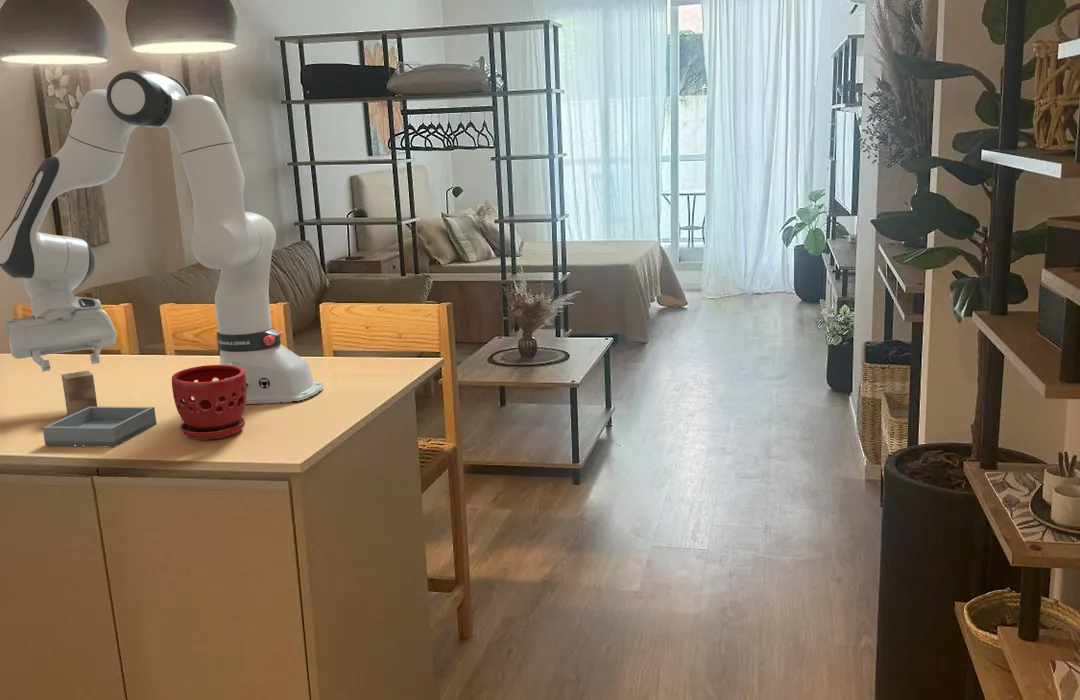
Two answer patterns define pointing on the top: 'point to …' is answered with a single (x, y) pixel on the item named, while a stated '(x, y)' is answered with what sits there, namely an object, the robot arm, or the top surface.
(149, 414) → the tray
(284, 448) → the top surface
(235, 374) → the plant pot
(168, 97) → the robot arm
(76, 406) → the walnut block
